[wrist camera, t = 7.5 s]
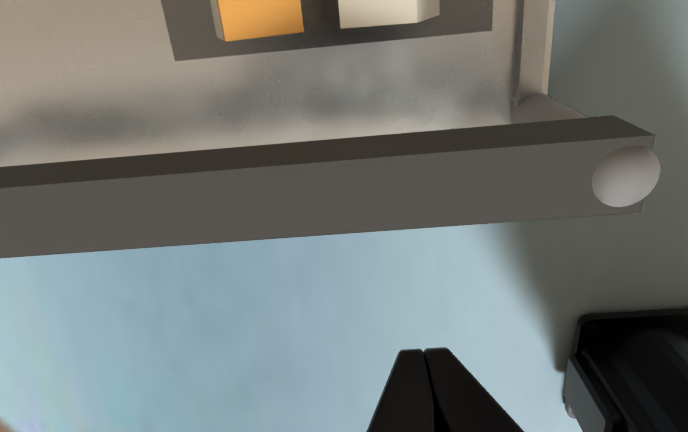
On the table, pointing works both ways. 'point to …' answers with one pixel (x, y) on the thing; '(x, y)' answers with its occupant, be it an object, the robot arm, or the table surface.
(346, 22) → the paddle on
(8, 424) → the table surface
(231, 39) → the paddle
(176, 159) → the gray bar rack
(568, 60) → the table surface
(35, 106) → the panel
